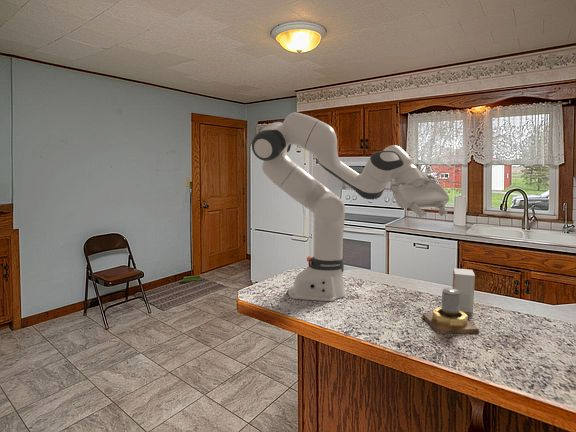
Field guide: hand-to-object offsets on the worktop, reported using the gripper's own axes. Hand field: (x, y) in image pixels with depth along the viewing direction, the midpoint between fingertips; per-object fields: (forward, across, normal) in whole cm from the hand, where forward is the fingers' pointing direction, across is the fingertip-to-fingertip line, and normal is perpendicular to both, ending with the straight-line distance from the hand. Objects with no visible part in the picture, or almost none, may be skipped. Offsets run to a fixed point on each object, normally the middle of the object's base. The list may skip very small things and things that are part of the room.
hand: (434, 215), depth 114 cm
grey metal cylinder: (+28, +1, +18) cm, 33 cm away
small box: (+23, +16, +24) cm, 37 cm away
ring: (+28, +1, +18) cm, 33 cm away
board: (+29, +1, +18) cm, 34 cm away
